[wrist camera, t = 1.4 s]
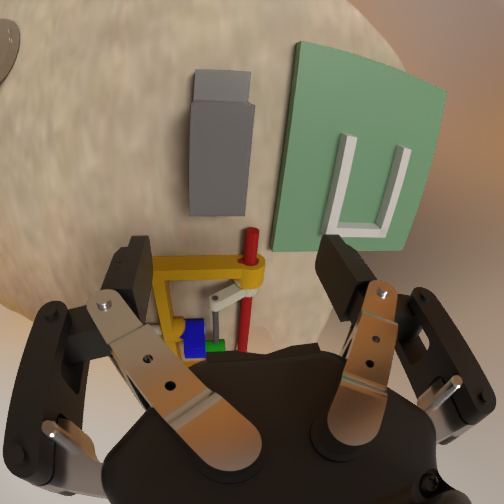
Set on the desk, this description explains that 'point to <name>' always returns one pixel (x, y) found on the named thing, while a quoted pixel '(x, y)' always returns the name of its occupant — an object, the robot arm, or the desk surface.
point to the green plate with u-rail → (353, 151)
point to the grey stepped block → (220, 143)
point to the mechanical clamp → (208, 268)
